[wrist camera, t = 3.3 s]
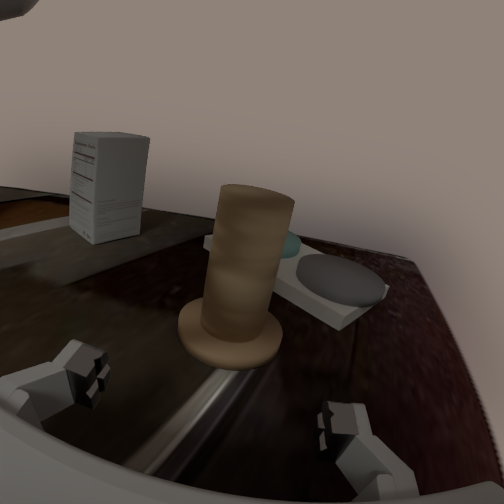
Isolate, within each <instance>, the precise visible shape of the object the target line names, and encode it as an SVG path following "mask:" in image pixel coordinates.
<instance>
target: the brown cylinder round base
mask: <svg viewBox="0 0 504 504" xmlns="http://www.w3.org/2000/svg"><path fill="white" fill-rule="evenodd" d="M294 203H295V202H294V200H293V199H291V198H290V197H288V196H286V195H283V194H281V193H278V192H274V191H271V190H267V189H263V188H259V187H253V186H247V185H237V184H228V185H223V186H221V191H220V197H219V202H218V207H217V213H216V219H215V225H214V231H213V237H212V243H211V249H210V255H209V262H208V268H207V274H206V281H205V288H204V294H203V298H199V299H196V300H193V301H191V302H190V303H188V304H187V305H185V306H184V307H183V309H182V310H181V312H180V314H179V320H178V338H179V341H180V343H181V345H182V346H183V348H184V349H185V350H186V351H187V352H188V353H189V354H190V355H192V356H193V357H194V358H196V359H197V360H199V361H201V362H203V363H205V364H207V365H210V366H213V367H216V368H220V369H225V370H233V371H243V370H251V369H256V368H259V367H261V366H264V365H266V364H267V363H269V362H270V361H271V360H272V359H273V358H274V357H275V356H276V354H277V352H278V349H279V346H280V343H281V340H282V336H283V332H282V327H281V325H280V323H279V322H278V320H277V319H276V318H275V317H274V316H273V315H272V314H271V313H270V312H269V311H267V310H268V307H269V303H270V299H271V295H272V291H273V288H274V284H275V280H276V276H277V272H278V268H279V264H280V260H281V256H282V252H283V248H284V244H285V240H286V236H287V232H288V228H289V224H290V220H291V216H292V212H293V207H294Z"/></svg>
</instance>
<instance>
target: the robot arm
mask: <svg viewBox="0 0 504 504" xmlns="http://www.w3.org/2000/svg"><path fill="white" fill-rule="evenodd" d="M38 1H39V0H0V21H2V20H7V19H11V18H15V17H19V16H23V15H24V14H26V13H27V12H28V11H30V10H31V9H32V8H33V7H34V6H35V4H36V3H37V2H38ZM108 361H109V354H108V353H107V352H106V351H103V350H101V349H98V348H95V347H93V346H90V345H88V344H85V343H82V342H80V341H77V340H75V339H74V340H71V341H70V342H69V343H68V344H67V346H66V347H65V348H64V349H63V350H62V351H61V352H60V354H59V355H58V356H57V357H56V358H55V359H54V361H53V362H52V363H51V362H46V363H43V364H40V365H37V366H34V367H31V368H28V369H25V370H22V371H19V372H15V373H12V374H9V375H6V376H3V377H1V378H0V504H504V489H503V488H501V487H500V486H499V485H497V484H496V483H494V482H492V481H486V482H482V483H478V484H475V485H471V486H467V487H463V488H459V489H454V490H450V491H445V492H440V493H435V494H429V495H423V496H420V495H419V491H418V487H417V483H416V480H415V476H414V472H413V471H412V470H411V469H410V468H409V467H408V466H407V465H406V464H405V463H404V462H403V461H402V460H401V459H400V458H398V457H397V456H396V455H395V454H394V453H393V452H392V451H391V450H390V449H389V448H388V447H387V446H386V445H385V444H384V443H383V442H382V441H381V440H380V439H379V438H378V437H377V436H373V435H372V431H371V427H370V423H369V419H368V415H367V411H366V408H365V405H364V404H359V403H345V402H334V401H325V402H324V404H323V405H322V407H321V408H322V413H320V414H318V415H317V417H316V419H315V421H314V425H313V438H314V439H315V440H316V441H317V442H316V443H315V445H314V460H317V461H330V462H336V464H337V466H338V467H339V469H340V470H341V471H342V473H343V474H344V476H345V477H346V478H347V480H348V481H349V483H350V484H351V485H352V487H353V488H354V489H355V491H356V492H357V494H358V496H357V497H355V498H354V499H353V500H352V501H351V502H349V503H314V502H293V501H279V500H269V499H260V498H252V497H245V496H238V495H232V494H226V493H220V492H215V491H210V490H205V489H200V488H196V487H191V486H187V485H183V484H179V483H175V482H171V481H168V480H164V479H161V478H157V477H154V476H151V475H147V474H144V473H141V472H138V471H135V470H132V469H129V468H126V467H123V466H121V465H118V464H115V463H112V462H110V461H107V460H105V459H102V458H100V457H97V456H95V455H92V454H90V453H88V452H85V451H83V450H81V449H79V448H76V447H74V446H72V445H70V444H68V443H66V442H64V441H62V440H60V439H58V438H56V437H54V436H52V435H50V434H48V433H46V432H45V431H44V429H43V427H42V425H41V423H40V422H41V421H43V420H45V419H47V418H48V417H50V416H52V415H54V414H56V413H58V412H59V411H61V410H63V409H65V408H67V407H69V406H70V405H72V404H74V402H75V403H77V404H80V405H83V406H85V407H88V408H90V409H94V408H95V406H96V404H97V403H98V401H99V399H100V392H102V391H104V390H105V389H106V388H107V386H108V383H109V380H110V374H111V372H110V367H109V366H108V365H107V362H108Z"/></svg>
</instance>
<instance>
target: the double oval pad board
mask: <svg viewBox="0 0 504 504" xmlns="http://www.w3.org/2000/svg"><path fill="white" fill-rule="evenodd" d="M212 237H213V235H205V240H204V246H203V248H205V249H207V250H208V251H210V249H211V243H212ZM388 288H389V286H388V285H386V284H385V283H384V282H383V280H382V279H381V278H380V277H379V276H378V275H377V274H375V273H374V272H373V271H371V270H369V269H368V268H366V267H364V266H362V265H360V264H358V263H355V262H353V261H350V260H347V259H344V258H341V257H337V256H332V255H326V254H323V253H321V252H319V251H317V250H315V249H313V248H311V247H309V246H306V245H304V244H302V243H301V240H300V238H299V237H298V236H296V235H295V234H294V233H292V232H290V231H288V232H287V236H286V240H285V244H284V248H283V252H282V256H281V260H280V264H279V268H278V272H277V276H276V280H275V284H274V288H273V291H274V292H275V293H277V294H279V295H280V296H282V297H284V298H285V299H287V300H288V301H290V302H292V303H293V304H295V305H297V306H298V307H300V308H302V309H303V310H305V311H307V312H308V313H310V314H311V315H313V316H315V317H316V318H318V319H320V320H321V321H323V322H325V323H326V324H328V325H330V326H331V327H333V328H335V329H336V330H338V331H340V330H341V329H343V328H344V327H345V326H347V325H348V324H350V323H351V322H352V321H354V320H355V319H357V318H358V317H359V316H361V315H362V314H364V313H365V312H366V311H368V310H369V309H370V308H372V307H373V306H375V305H377V304H379V303H380V301H381V300H382V299H384V298H385V296H386V293H387V291H388Z"/></svg>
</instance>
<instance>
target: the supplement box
mask: <svg viewBox="0 0 504 504" xmlns="http://www.w3.org/2000/svg"><path fill="white" fill-rule="evenodd" d="M149 143H150V138H149V137H146V136H141V135H135V134H128V133H122V132H75V135H74V144H73V156H72V168H71V187H70V227H71V228H72V229H73V230H74V231H76V232H77V233H78V234H79V235H81V236H82V237H83V238H84V239H86V240H87V241H88V242H90V243H91V244H92V245H96V244H99V243H104V242H108V241H112V240H117V239H121V238H126V237H130V236H135V235H139V234H140V224H141V211H142V201H143V191H144V182H145V173H146V165H147V158H148V149H149Z"/></svg>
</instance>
